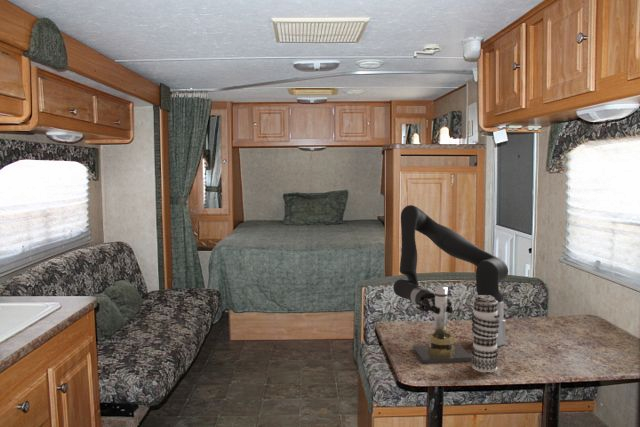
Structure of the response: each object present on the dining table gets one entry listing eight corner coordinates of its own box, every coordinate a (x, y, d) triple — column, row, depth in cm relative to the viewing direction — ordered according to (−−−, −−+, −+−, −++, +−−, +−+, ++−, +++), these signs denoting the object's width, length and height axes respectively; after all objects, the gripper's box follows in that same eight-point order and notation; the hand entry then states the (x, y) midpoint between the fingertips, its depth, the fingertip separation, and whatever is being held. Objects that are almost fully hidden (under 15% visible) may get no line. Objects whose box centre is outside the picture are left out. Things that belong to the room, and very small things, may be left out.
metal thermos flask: (444, 335, 188) (445, 285, 186) (448, 339, 184) (449, 288, 182) (432, 336, 188) (433, 286, 186) (436, 340, 183) (437, 289, 181)
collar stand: (458, 347, 194) (458, 328, 193) (472, 361, 180) (472, 340, 179) (412, 349, 192) (412, 330, 192) (422, 363, 178) (422, 343, 178)
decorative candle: (487, 360, 180) (488, 292, 178) (504, 370, 171) (505, 298, 169) (465, 364, 177) (466, 294, 175) (481, 374, 168) (482, 301, 166)
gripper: (406, 290, 196) (426, 302, 180) (440, 287, 200) (462, 299, 183) (406, 309, 197) (426, 322, 180) (439, 306, 200) (462, 319, 184)
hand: (444, 310), depth 182 cm, fingers closed on metal thermos flask, 4 cm apart
